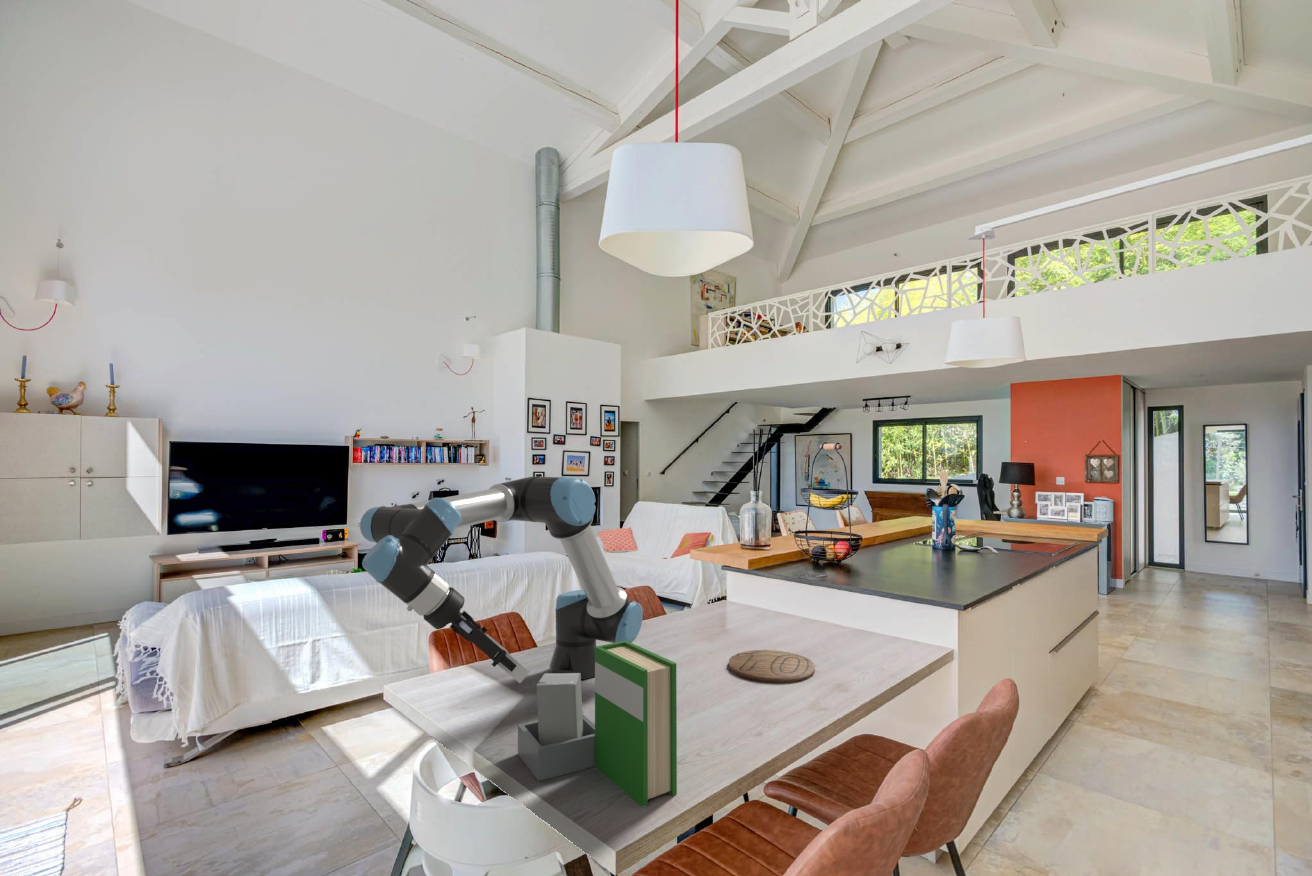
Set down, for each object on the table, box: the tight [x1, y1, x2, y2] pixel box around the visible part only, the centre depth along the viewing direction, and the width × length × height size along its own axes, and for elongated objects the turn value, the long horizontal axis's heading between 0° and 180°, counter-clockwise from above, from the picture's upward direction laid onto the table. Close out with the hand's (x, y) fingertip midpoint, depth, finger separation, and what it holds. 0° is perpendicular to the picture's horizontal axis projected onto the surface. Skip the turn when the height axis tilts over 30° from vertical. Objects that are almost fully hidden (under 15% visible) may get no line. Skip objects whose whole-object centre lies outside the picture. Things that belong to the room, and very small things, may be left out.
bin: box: [517, 714, 595, 782], centre depth 130 cm, size 13×14×6 cm
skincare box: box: [535, 672, 584, 746], centre depth 129 cm, size 8×7×16 cm
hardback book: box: [594, 641, 678, 808], centre depth 121 cm, size 18×7×24 cm, turn 35°
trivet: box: [728, 649, 816, 685], centre depth 185 cm, size 25×25×2 cm
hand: (513, 666), depth 126 cm, fingers open, 13 cm apart
